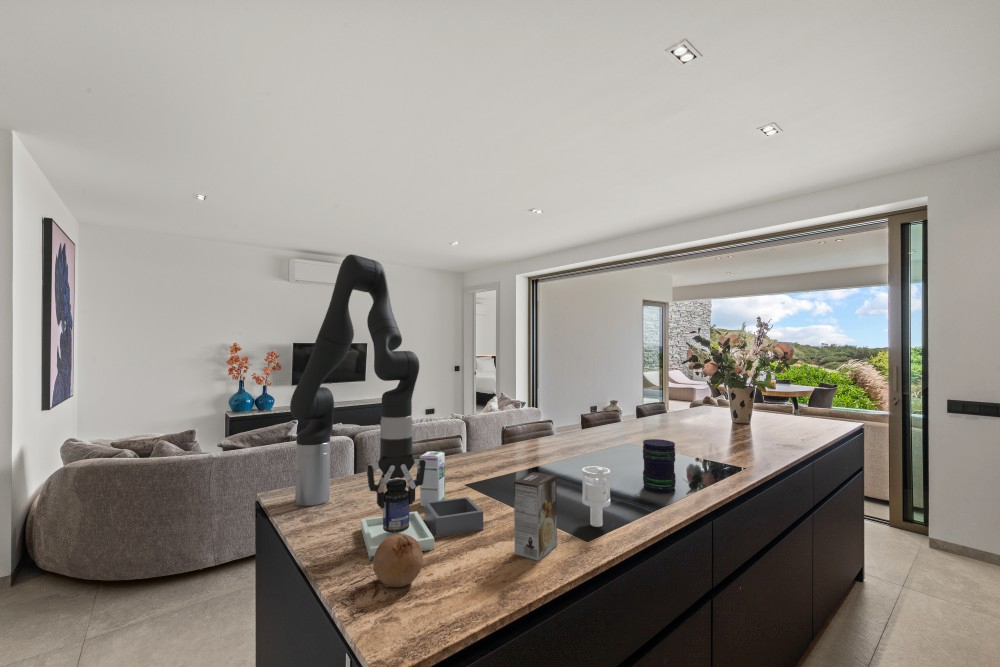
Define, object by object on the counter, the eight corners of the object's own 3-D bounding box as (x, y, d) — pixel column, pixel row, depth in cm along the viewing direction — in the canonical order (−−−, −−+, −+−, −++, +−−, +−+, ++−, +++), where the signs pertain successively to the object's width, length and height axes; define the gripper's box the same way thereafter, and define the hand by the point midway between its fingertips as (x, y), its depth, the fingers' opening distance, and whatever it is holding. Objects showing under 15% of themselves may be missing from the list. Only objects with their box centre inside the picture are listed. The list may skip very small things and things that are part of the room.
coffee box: (533, 539, 107) (532, 471, 107) (557, 545, 104) (557, 475, 104) (513, 554, 99) (513, 480, 100) (539, 562, 96) (539, 485, 96)
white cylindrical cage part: (588, 530, 112) (587, 469, 112) (578, 519, 119) (578, 462, 119) (615, 529, 113) (614, 468, 113) (604, 518, 120) (603, 461, 120)
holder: (436, 537, 108) (436, 518, 108) (424, 519, 119) (424, 502, 119) (483, 529, 112) (483, 511, 113) (467, 513, 124) (467, 496, 124)
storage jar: (638, 490, 143) (638, 443, 143) (648, 482, 151) (647, 438, 152) (671, 496, 137) (670, 447, 138) (679, 488, 145) (678, 441, 146)
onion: (411, 605, 85) (423, 566, 82) (362, 593, 84) (372, 553, 81) (421, 564, 94) (432, 527, 91) (376, 553, 93) (386, 515, 90)
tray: (369, 561, 96) (370, 549, 96) (361, 529, 113) (361, 519, 113) (434, 549, 101) (434, 538, 102) (416, 520, 118) (416, 511, 118)
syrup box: (439, 508, 128) (439, 456, 128) (419, 506, 129) (419, 455, 129) (445, 501, 133) (445, 451, 134) (426, 499, 134) (426, 450, 135)
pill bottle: (414, 526, 109) (414, 479, 109) (398, 535, 103) (399, 487, 103) (393, 521, 111) (394, 476, 112) (377, 531, 106) (377, 483, 106)
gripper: (422, 429, 114) (422, 496, 114) (363, 434, 108) (362, 504, 108) (430, 435, 107) (429, 506, 107) (367, 440, 102) (366, 515, 101)
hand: (396, 505), depth 107 cm, fingers closed on pill bottle, 6 cm apart
